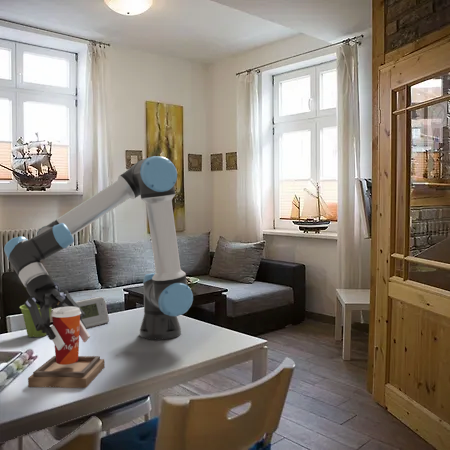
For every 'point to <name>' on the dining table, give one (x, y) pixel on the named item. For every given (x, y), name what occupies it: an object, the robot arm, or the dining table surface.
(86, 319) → the digital clock
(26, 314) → the plant pot
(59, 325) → the coffee cup
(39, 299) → the robot arm
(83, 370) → the walnut base plate
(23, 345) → the dining table surface
